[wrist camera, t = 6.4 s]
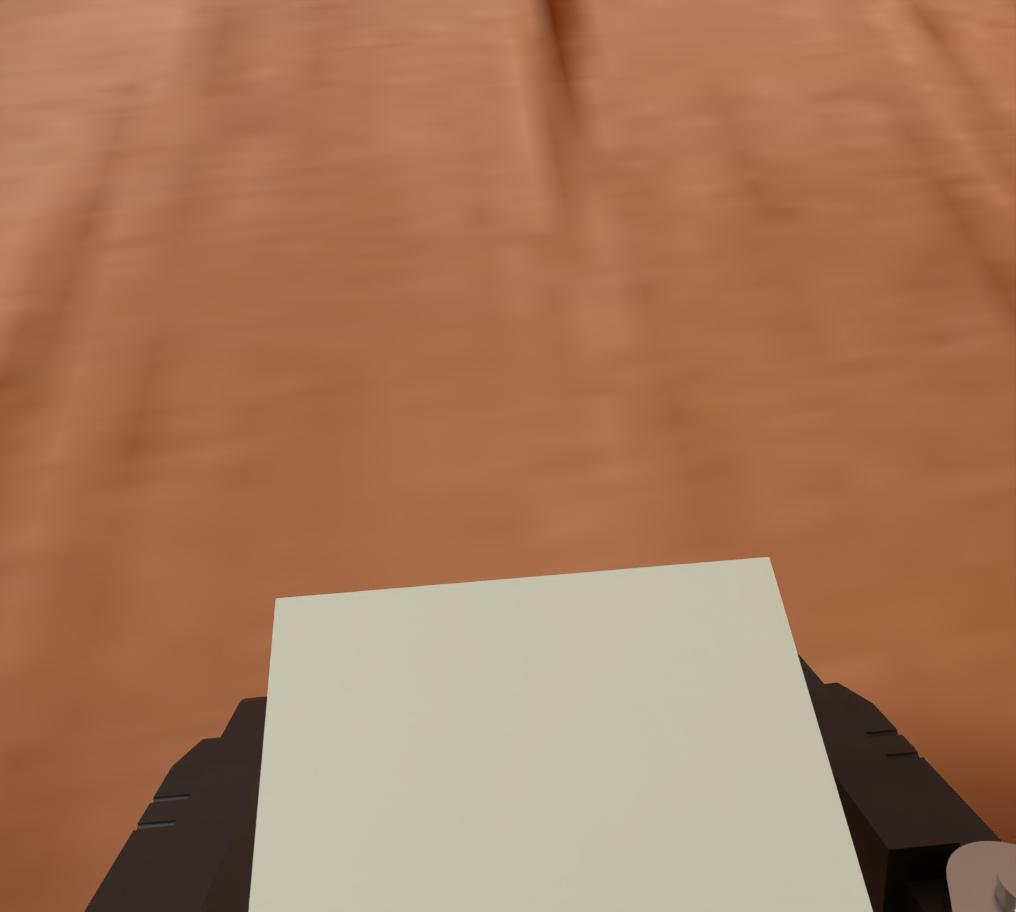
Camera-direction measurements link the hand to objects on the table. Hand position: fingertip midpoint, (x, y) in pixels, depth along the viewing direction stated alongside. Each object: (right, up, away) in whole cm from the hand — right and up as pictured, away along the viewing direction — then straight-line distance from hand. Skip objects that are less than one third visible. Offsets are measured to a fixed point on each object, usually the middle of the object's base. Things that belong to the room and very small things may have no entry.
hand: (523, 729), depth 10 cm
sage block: (0, -4, +3) cm, 5 cm away
